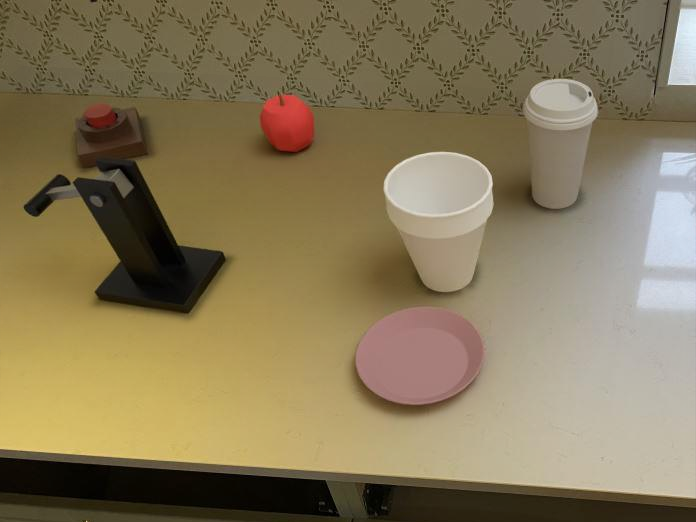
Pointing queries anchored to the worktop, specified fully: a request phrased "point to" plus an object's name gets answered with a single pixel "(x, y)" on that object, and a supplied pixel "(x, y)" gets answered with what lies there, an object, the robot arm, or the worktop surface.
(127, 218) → the bracket
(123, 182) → the lever
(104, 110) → the button
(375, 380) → the plate
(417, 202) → the cup
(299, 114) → the apple
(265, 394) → the worktop surface
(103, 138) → the button block
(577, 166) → the coffee cup
